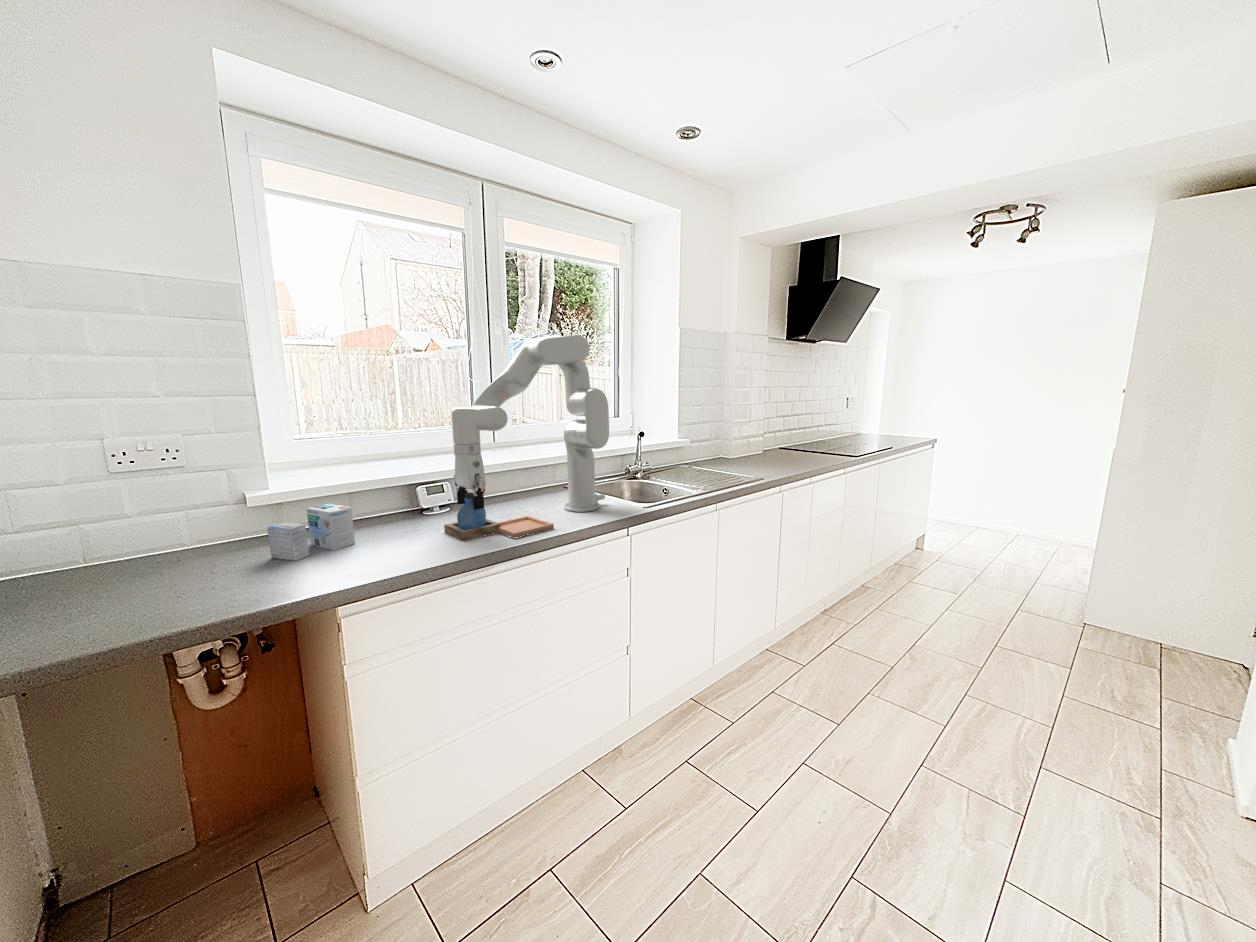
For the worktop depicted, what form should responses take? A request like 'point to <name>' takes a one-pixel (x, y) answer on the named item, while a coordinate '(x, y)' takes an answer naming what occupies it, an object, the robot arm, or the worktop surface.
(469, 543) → the worktop surface
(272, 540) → the medicine box
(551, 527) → the dish
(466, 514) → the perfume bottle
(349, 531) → the light bulb box
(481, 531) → the socket block
